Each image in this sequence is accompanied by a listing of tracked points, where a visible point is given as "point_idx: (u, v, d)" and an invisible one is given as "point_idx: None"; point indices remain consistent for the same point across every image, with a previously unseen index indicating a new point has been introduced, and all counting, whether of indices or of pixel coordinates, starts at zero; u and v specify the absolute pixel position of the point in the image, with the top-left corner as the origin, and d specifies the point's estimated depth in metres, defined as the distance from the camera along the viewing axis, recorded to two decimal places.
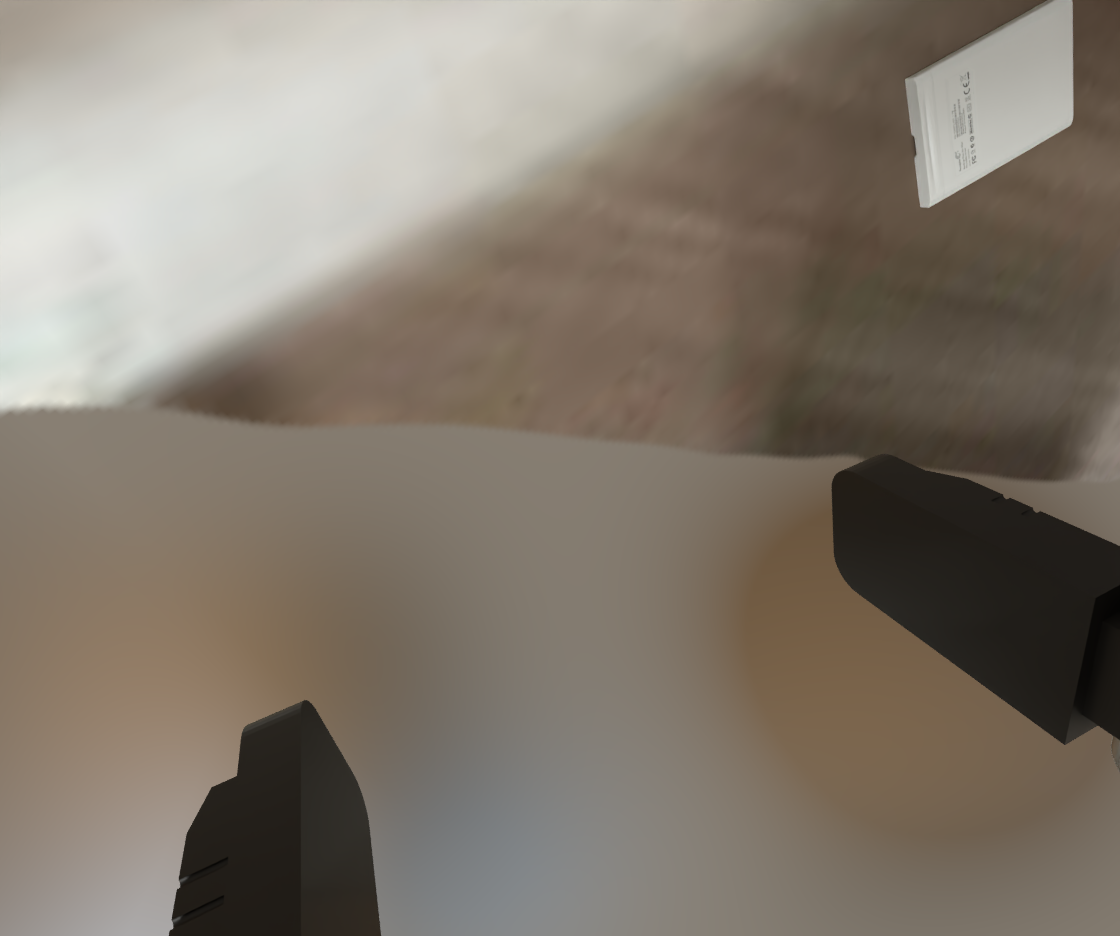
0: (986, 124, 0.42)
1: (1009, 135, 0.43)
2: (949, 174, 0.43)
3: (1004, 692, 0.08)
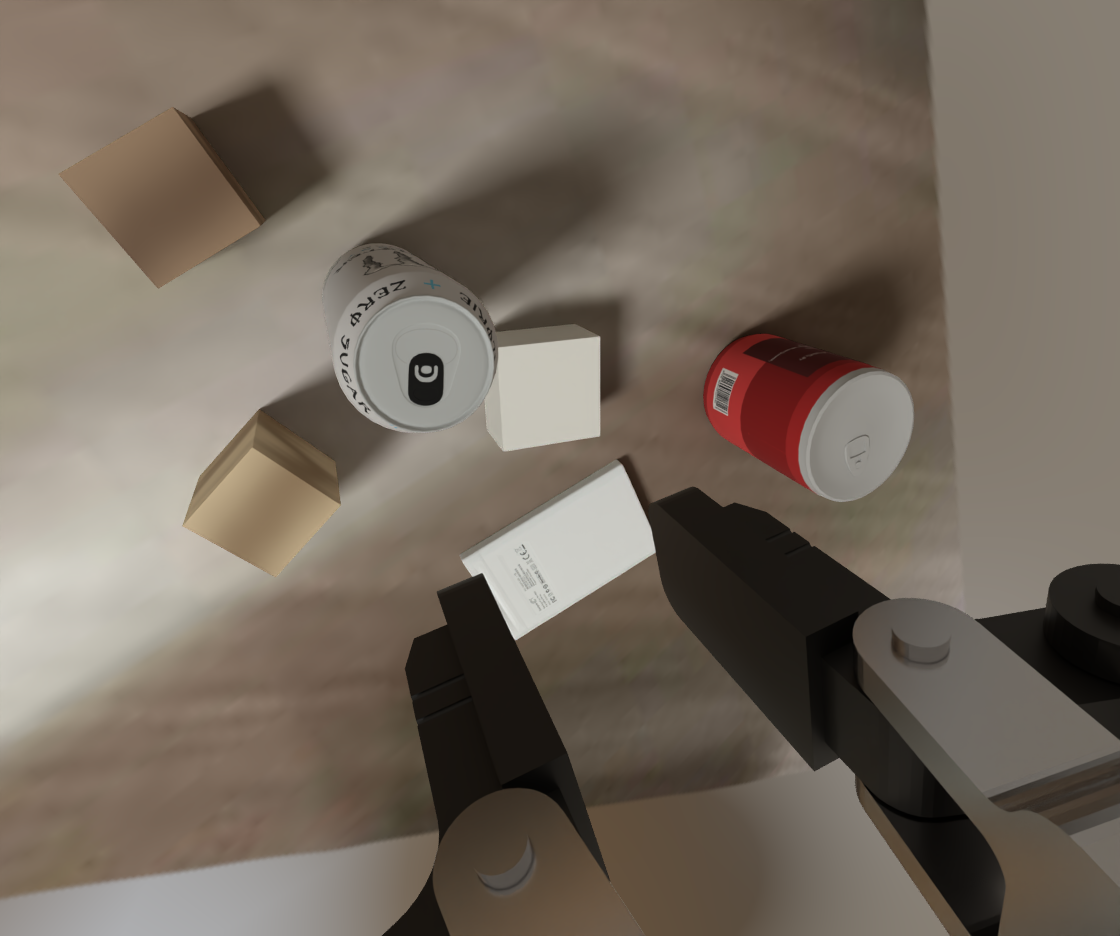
0: (558, 573, 0.45)
1: (588, 574, 0.46)
2: (528, 615, 0.46)
3: (775, 719, 0.08)
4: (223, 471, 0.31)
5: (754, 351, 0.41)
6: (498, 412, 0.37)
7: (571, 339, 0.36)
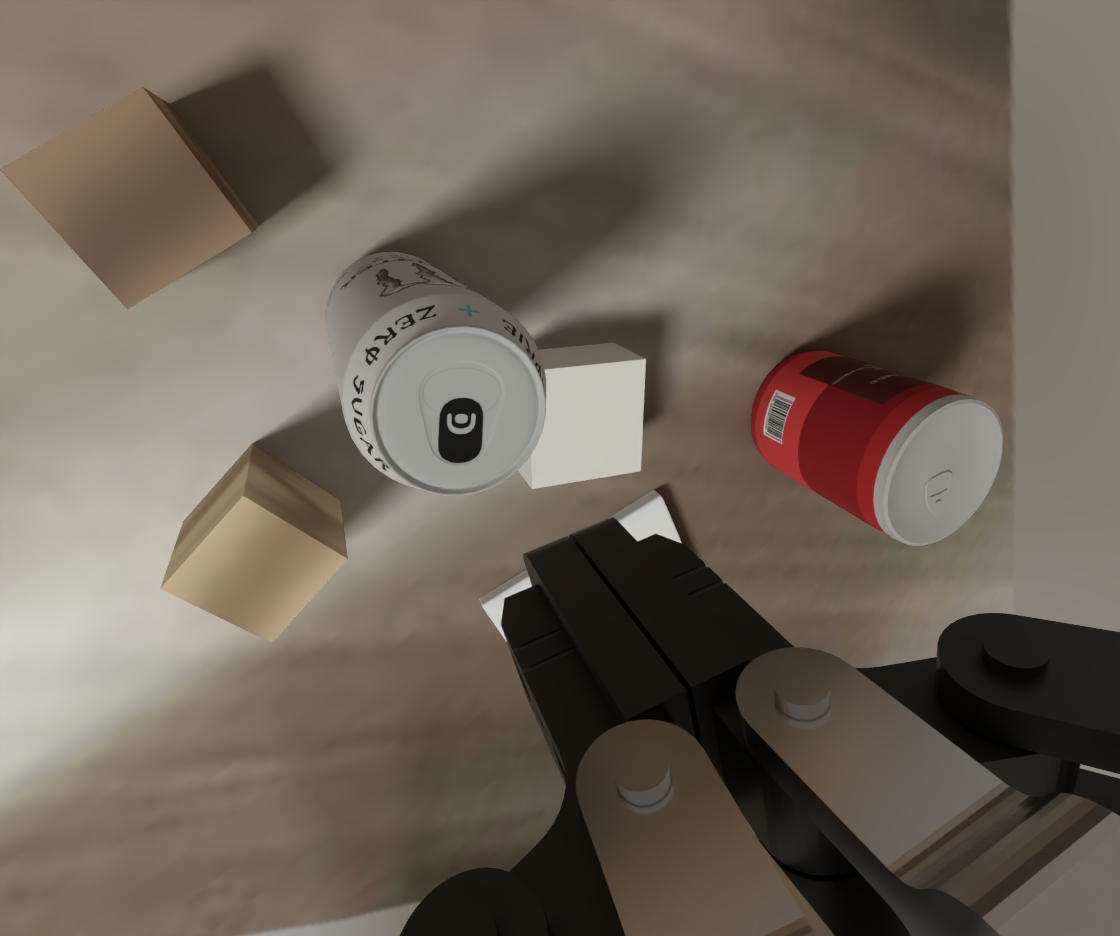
0: None
1: None
2: None
3: None
4: (209, 521, 0.27)
5: (813, 371, 0.36)
6: None
7: (613, 362, 0.31)
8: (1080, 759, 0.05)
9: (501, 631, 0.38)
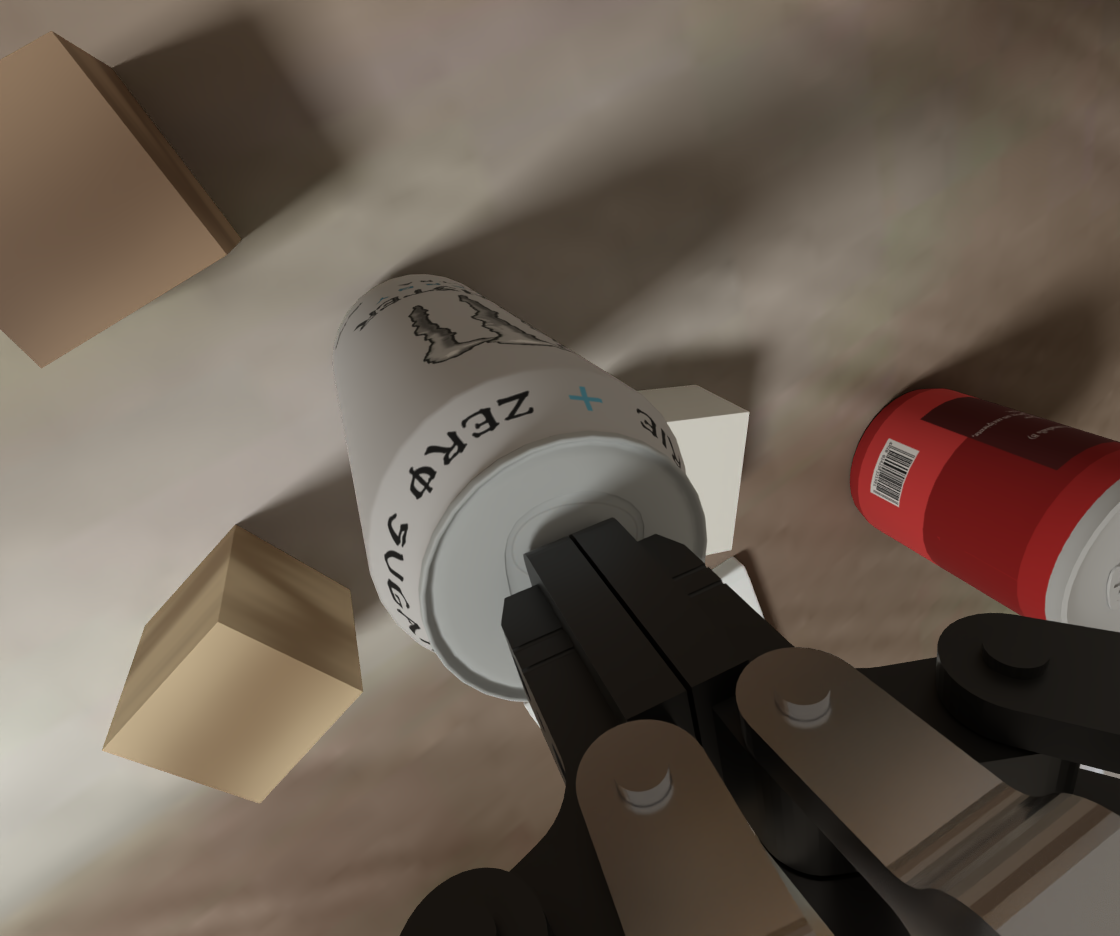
0: None
1: None
2: None
3: None
4: (173, 648, 0.19)
5: (941, 417, 0.29)
6: None
7: (709, 416, 0.24)
8: (1079, 759, 0.05)
9: None
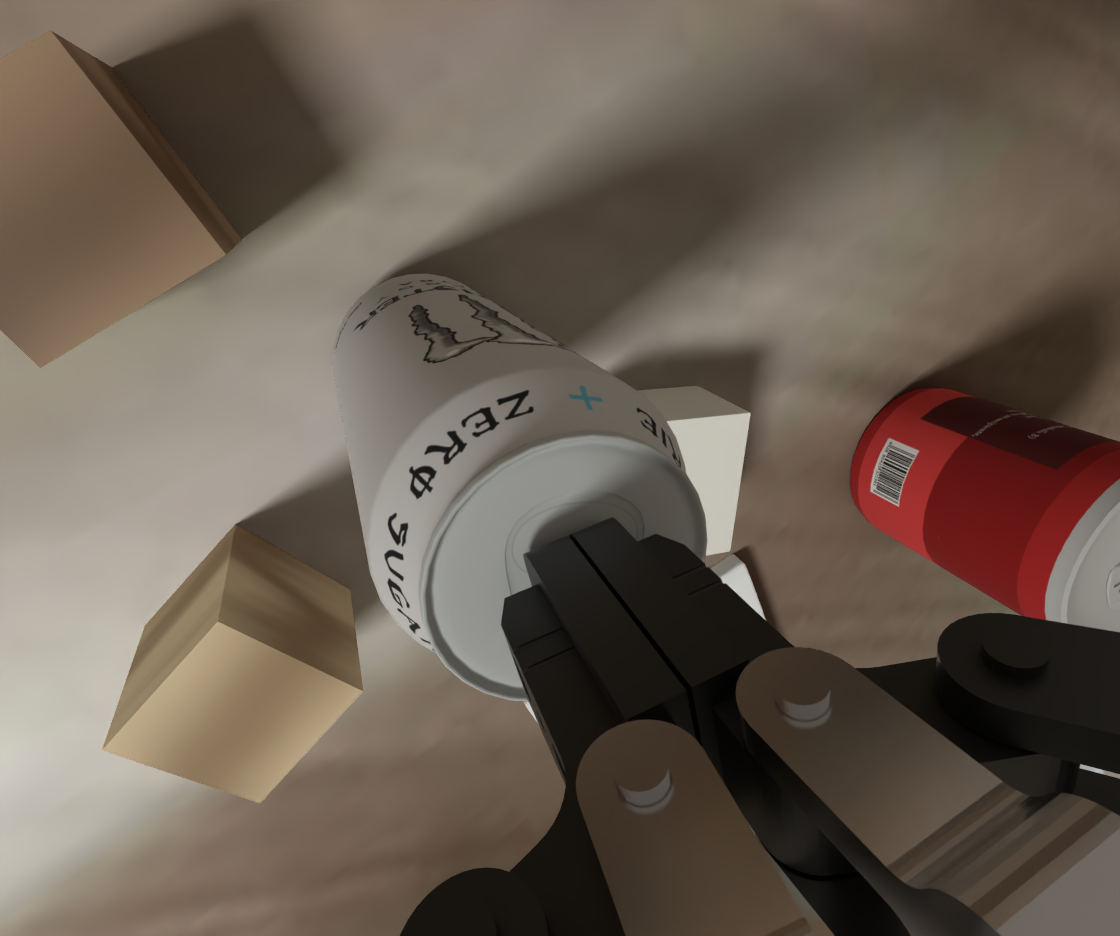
0: None
1: None
2: None
3: None
4: (173, 648, 0.19)
5: (941, 417, 0.29)
6: None
7: (710, 416, 0.24)
8: (1080, 759, 0.05)
9: None
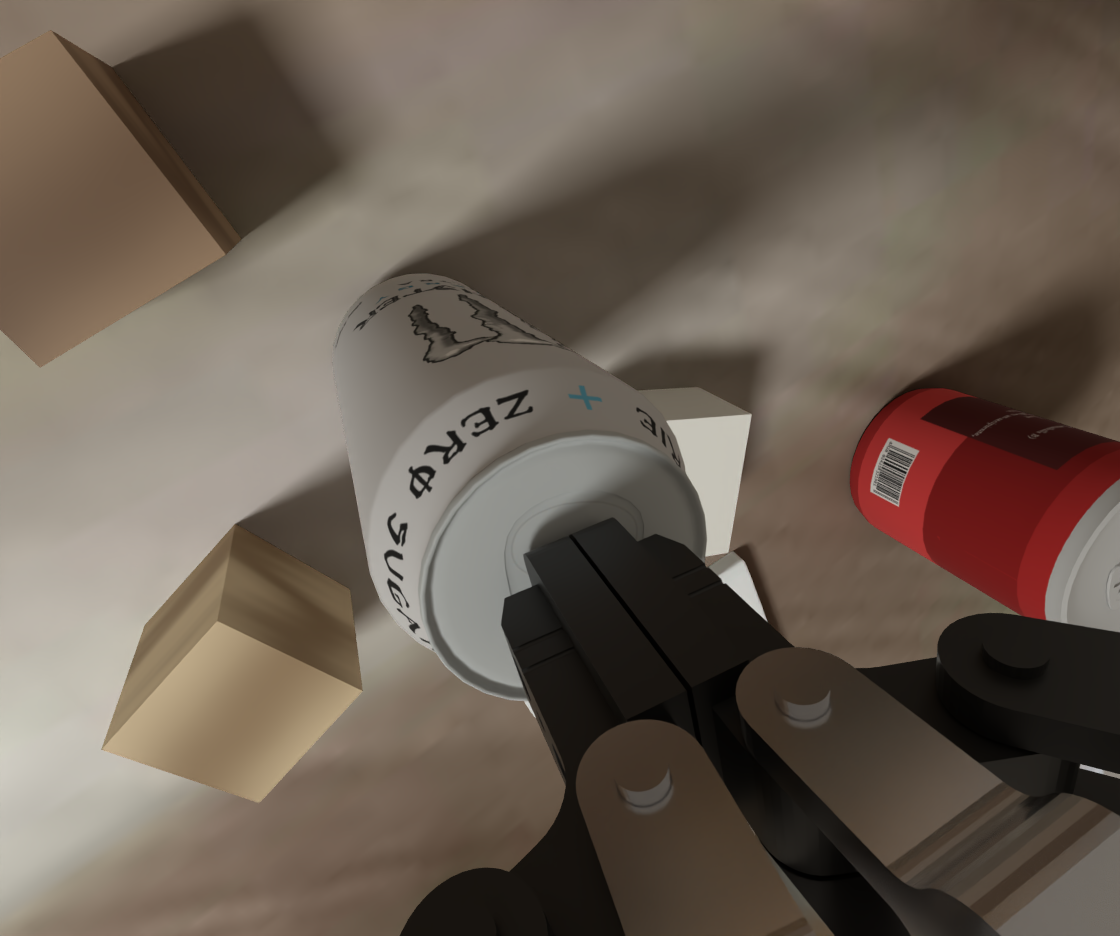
0: None
1: None
2: None
3: None
4: (172, 647, 0.19)
5: (941, 417, 0.29)
6: None
7: (712, 416, 0.24)
8: (1080, 760, 0.05)
9: None
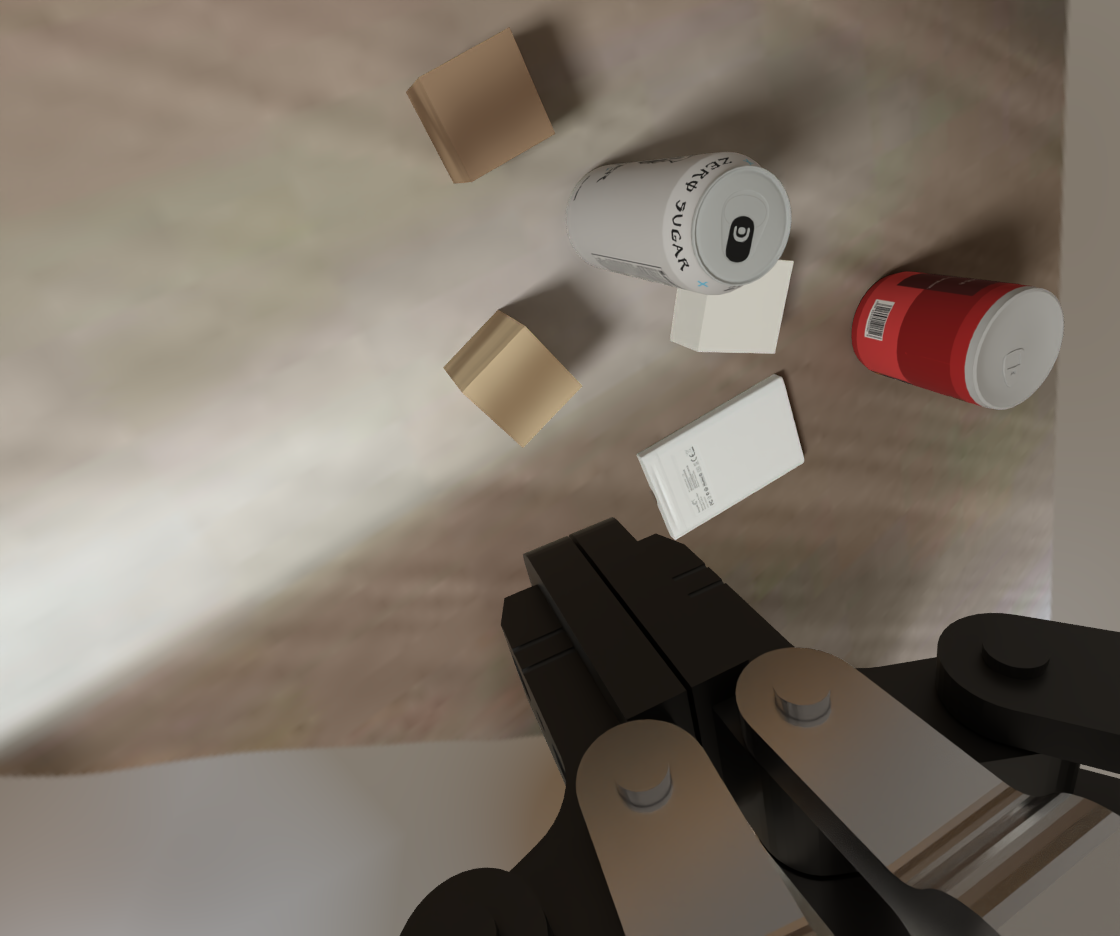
0: (718, 477, 0.50)
1: (742, 481, 0.51)
2: (689, 516, 0.50)
3: None
4: (489, 350, 0.37)
5: (909, 282, 0.46)
6: (698, 316, 0.42)
7: None
8: (1080, 759, 0.05)
9: (653, 482, 0.48)
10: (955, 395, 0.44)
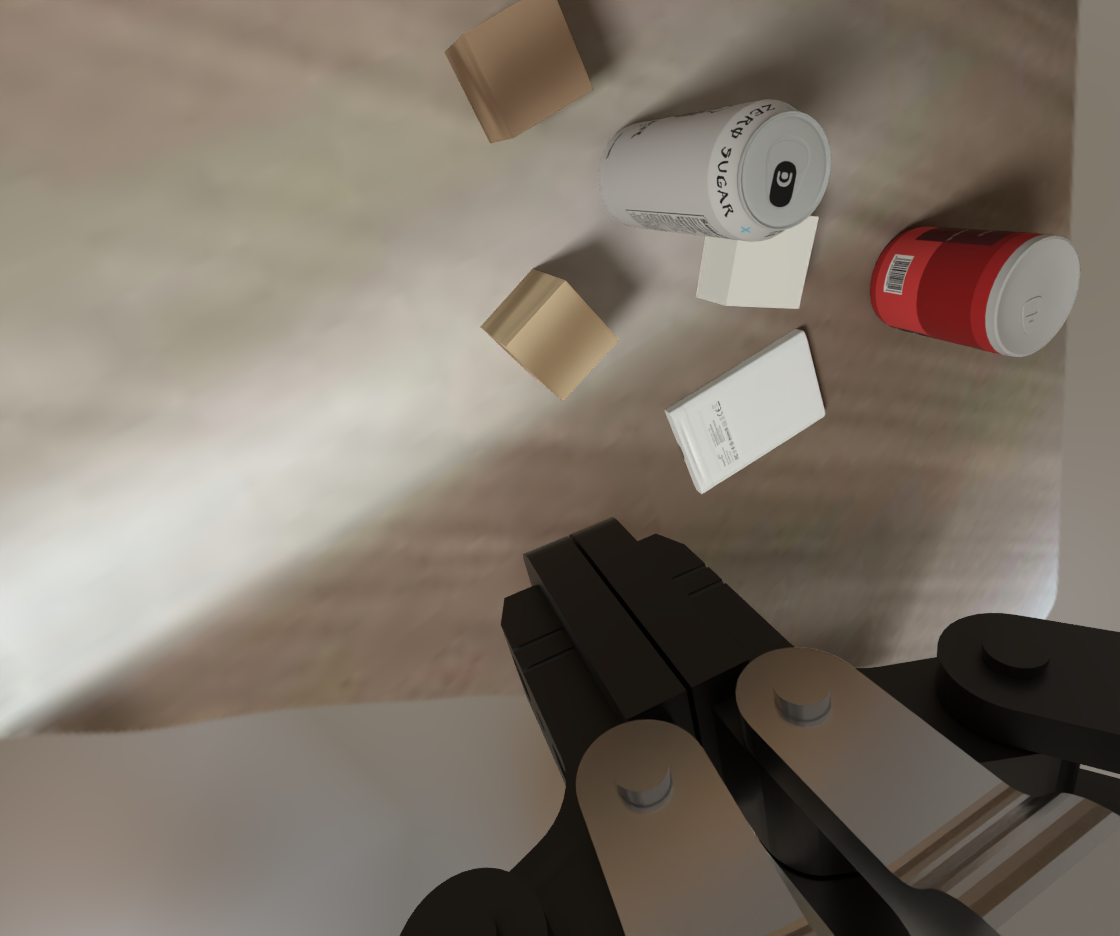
0: (743, 431, 0.51)
1: (766, 435, 0.52)
2: (715, 470, 0.52)
3: None
4: (530, 306, 0.38)
5: (927, 236, 0.48)
6: (727, 270, 0.43)
7: None
8: (1080, 760, 0.05)
9: (681, 437, 0.49)
10: (975, 344, 0.45)
